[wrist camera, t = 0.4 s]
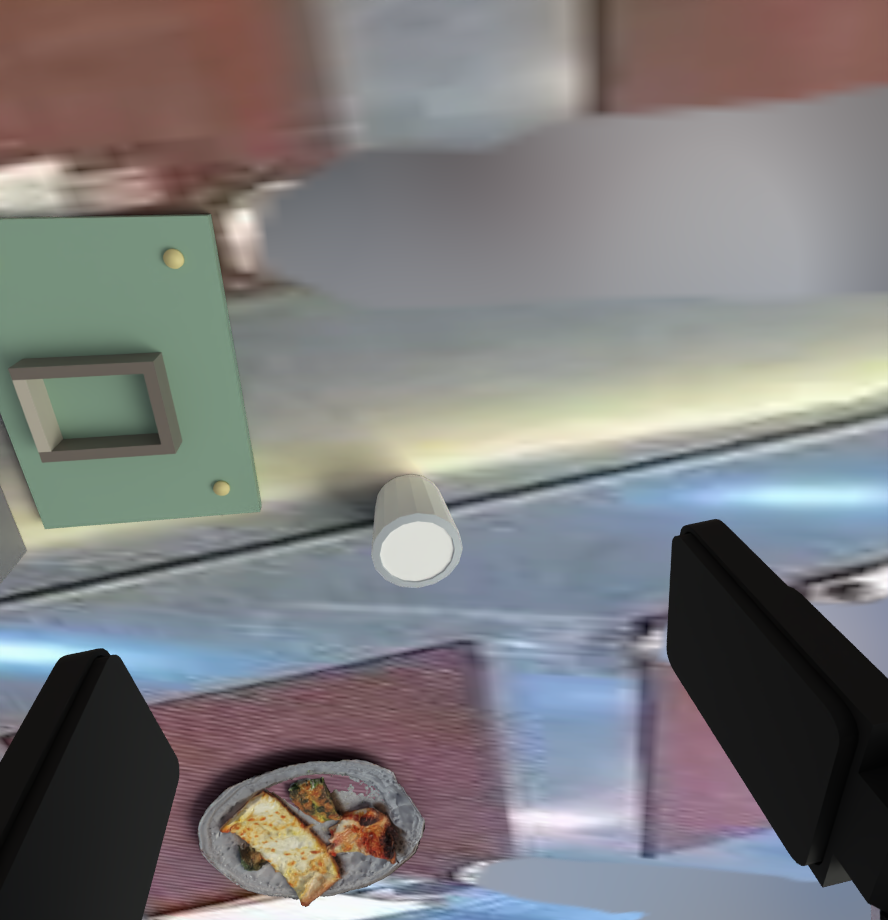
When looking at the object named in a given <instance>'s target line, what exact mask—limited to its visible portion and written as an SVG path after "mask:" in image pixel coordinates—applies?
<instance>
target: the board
mask: <svg viewBox="0 0 888 920" xmlns="http://www.w3.org/2000/svg"><path fill="white" fill-rule="evenodd" d="M156 352H162V356H163V360H164V364H165V369H166V373H167V377H168V382H169V386H170V390H171V394H172V399H173V403H174V407H175V411H176V416H177V420H178V424H179V429H180V433H181V437H182V441H183V442H182V443H181V445H180V447H179V449H178V451H177V452H176V454H166V455H151V456H136V457H121V458H106V459H91V460H76V461H61V462H46V463H42V461H41V458H40V455H39V453H38V450H37V447H36V444H35V442H34V439H33V436H32V433H31V431H30V428H29V425H28V422H27V420H26V417H25V414H24V411H23V409H22V406H21V403H20V400H19V398H18V395H17V392H16V389H15V387H14V384H13V381H12V378H11V376H10V373H9V370H8V368H9V367H11V366H13V365H14V364H16V363H17V362H19V361H20V360H22V359H27V358H48V357H70V356H91V355H113V354H135V353H156ZM43 381H44V384H45V387H46V390H47V393H48V396H49V399H50V402H51V405H52V408H53V410H54V413H55V416H56V419H57V422H58V425H59V428H60V431H61V434H62V437H63V439H72V438H88V437H104V436H120V435H136V434H151V433H158V429H157V425H156V421H155V417H154V413H153V410H152V406H151V402H150V398H149V394H148V390H147V386H146V382H145V378H144V374H130V375H110V376H90V377H71V378H51V379H43ZM0 413H1V416H2V418H3V421H4V424H5V426H6V429H7V431H8V434H9V437H10V439H11V442H12V444H13V447H14V450H15V452H16V455H17V457H18V460H19V463H20V465H21V468H22V470H23V473H24V476H25V478H26V481H27V483H28V486H29V489H30V491H31V494H32V496H33V499H34V502H35V504H36V507H37V509H38V512H39V515H40V517H41V520H42V522H43V525H44V528H45V529H52V528H64V527H76V526H89V525H101V524H114V523H126V522H139V521H151V520H164V519H176V518H189V517H201V516H213V515H226V514H238V513H251V512H260V510H261V499H260V493H259V488H258V482H257V476H256V470H255V465H254V459H253V453H252V447H251V442H250V436H249V430H248V425H247V419H246V413H245V407H244V402H243V396H242V390H241V384H240V379H239V373H238V367H237V362H236V356H235V350H234V344H233V339H232V333H231V327H230V321H229V316H228V310H227V304H226V298H225V293H224V287H223V281H222V276H221V270H220V264H219V258H218V253H217V247H216V241H215V235H214V230H213V224H212V218H211V214H185V215H131V216H77V217H23V218H0Z"/></svg>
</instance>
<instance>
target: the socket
mask: <svg viewBox="0 0 888 920" xmlns="http://www.w3.org/2000/svg"><path fill="white" fill-rule="evenodd" d="M8 370H9V373H10V376H11V378H12V381H13V384H14V387H15V389H16V392H17V395H18V398H19V400H20V403H21V406H22V409H23V411H24V414H25V417H26V420H27V422H28V425H29V428H30V431H31V433H32V436H33V439H34V442H35V444H36V447H37V450H38V453H39V455H40V458H41V461H42V463H46V462H61V461H76V460H91V459H106V458H121V457H136V456H151V455H166V454H176V452H177V451H178V449H179V447H180V445H181V443H182V442H183V441H182V437H181V433H180V429H179V424H178V420H177V416H176V411H175V407H174V403H173V399H172V394H171V390H170V386H169V382H168V377H167V373H166V369H165V364H164V360H163V356H162V352H156V353H135V354H113V355H91V356H70V357H48V358H27V359H22V360H20V361H19V362H17V363H16V364H14V365H13V366H11V367H9V368H8ZM130 374H144V378H145V382H146V386H147V390H148V394H149V398H150V402H151V406H152V410H153V413H154V417H155V421H156V425H157V429H158V433H151V434H136V435H120V436H104V437H88V438H72V439H63V437H62V434H61V431H60V428H59V425H58V422H57V419H56V416H55V413H54V410H53V408H52V405H51V402H50V399H49V396H48V393H47V390H46V387H45V384H44V381H43V379H51V378H71V377H90V376H110V375H130Z"/></svg>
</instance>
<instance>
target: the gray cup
mask: <svg viewBox="0 0 888 920" xmlns="http://www.w3.org/2000/svg"><path fill="white" fill-rule="evenodd" d="M462 549H463V548H462V543H461V538H460V534H459V532H458V529H457V527H456V525H455V523H454V521H453V519H452V517H451V514H450V512H449V510H448V508H447V506H446V504H445V502H444V499H443V497H442V495H441V493H440V491H439V490H438V488H437V487H436V486H435V484H434V483H433V482H432V481H430V480H428V479H426V478H424V477H423V476H418V475H409V474H408V475H404V476H399V477H395V478H394V479H392V480H391V481H389V482H388V483H386V484H385V485H384V486H383V487H382V489H381V490H380V492H379V493H378V495H377V500H376V505H375V517H374V528H373V540H372V552H371V556H372V560H373V563H374V566H375V569H376V570H377V571H378V572H379V573H380V575H381V576H382V577H383V578H384V579H385V580H387V581H389V582H391V583H393V584H396V585H398V586H400V587H413V588H419V587H423V586H427V585H432V584H435V583H437V582H438V581H440V580H442V579H443V578H445V577H447V576H448V575H449V574H450V573H451V572H452V571H453V569H454V568H455V567H456V566H457V564H458V563H459V560H460V556H461V553H462Z"/></svg>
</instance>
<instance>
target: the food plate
mask: <svg viewBox="0 0 888 920" xmlns="http://www.w3.org/2000/svg"><path fill="white" fill-rule="evenodd" d="M312 774H334V775H335V774H337V775H342V776H344V775H347V776H350V777H349V778H350V779H353V781H356V782H359V780H362V781H364V783H365V784H367V785H368V786H366V787H365V789H367V790H368V787H369V788H371V793H370V794H368V796H366V797H364V796H363V795H364V794H363V793H360V794H359V795H357V796H356V793H354V792H353V791H352V790H353V789H354V787H353V786H352V785H351V784H350V785H349V786H350V787H349V788H347V789H348V790H349V789H350V788H352V789H351V790H349V791H348V792H345V791H341V792H338V791H337V790H334V791H333V792H332V793H330V791H329V789H328V788H327V786H326V784H325V782H324V778H323V777H321V778H320V779H309V778H306V779H301V780H298V781H297V782H296V783H292V784H291V785H290V788H289V789H288V791H289V793H290V796H289V797H290V799H291V801H292V803H294V804H295V806H298V808H299V809H300V810H299V811H298V808H295V807H294V806H293V805H291V804H289V803H288V802H286V800H285V799H281V797H279V796H278V795H276V794H275V793H274V792H272V793H271V792H269V791H268V790H266V789H265V788H270V787H271V786H273V785H276V784H278V783H282V782H283V781H286V780H288V779H291V780H292V779H293V778H295V777H299V776H302V775H312ZM255 776H256V775H255ZM255 776H254V777H253V778H252V777H251V778H250V779H247V780H244V781H243V782H242V783H238V784H236V785H234V786H232V787H229V788H227V789H226V790H225V791H224V792H223V793H221V794H220V795H219V796H218V799H216V800H214V802H213V803H212V804H211V805H210V806H209V807H208V809H207V810H206V811H205V814H203V816H202V818H201V820H200V823H199V828H198V830H197V831H198V833H197V834H198V837H199V846H200V849H201V851H203V852H204V854H205V853H206V854H205V855H206V856H207V857H208V858H209V860H211V861H212V862H213V863H212V862H210V861H209V860H208V858H207V857H206V856H205V855H204V854H202V855H203V856H204V857H205V858H206V860H207V861H208V862H209V863H211V865H212V866H213V867H215V868H216V869H217V870H218V871H219V872H220V873H222V874H223V875H224V876H226V877H227V878H228V879H230V880H231V881H232V882H233V881H234V883H235V881H236V883H235V884H237V885H238V884H240V885H241V886H240V887H241V888H244V889H246V890H248V891H252V892H255V893H259V894H263V895H268V896H283V897H285V898H286V897H289V898H293V899H296V900H297V899H300V902H301V905H302V906H305V907H306V906H309V904H310V903H311V902H312V901H314V900H315V899H316V898H318V897H319V896H323V897H325V896H333V895H336V894H339V893H345V892H348V891H350V890H355V889H360V888H363V887H364V888H365V887H368V885H369V886H370V885H371V884H373V883H375V882H377V881H379V880H382V879H384V878H385V877H387V876H389V875H390V874H391V873H393V872H394V871H395V870H396V869H397V868H399V867H400V866H401V865H402V864H404V863H405V862H406V861H407V860H409V859H410V858H411V857H412V856H413V855H414V854H415V853H416V851H417V849H418V846H417V845H418V844H419V842H420V840H421V837H422V834H423V832H424V829H425V820H423V819H424V818H422V816H421V814H420V812H419V811H418V810H417V807H416V806H415V804H414V803H413V802H412V800H411V798H410V796H408V795H407V794H406V792H405V790H404V788H403V787H401V785H400V784H397V782H398V781H397V780H395V779H396V777H395V775H394V773H393V772H391V771H390V770H389V769H386V768H382V767H380V766H379V765H376V764H372V763H371V762H367V761H362V760H352V761H351V760H342V761H338V762H333V761H330V762H326V761H317V762H307V763H304V764H296V765H290V766H289V765H288V767H286V766H285V767H283V768H280V767H279V769H276V770H273V771H270V772H265V774H262V775H258V776H256V777H255ZM331 777H332V775H331ZM394 778H395V779H394ZM338 780H339V779H338ZM362 783H363V782H361V784H360V785H362ZM340 785H341V784H340ZM371 786H374V788H376V790H373V788H372V787H371ZM378 790H379V792H378ZM367 792H368V791H367ZM375 792H377V793H379V794H380V795H378V794H376V793H375ZM388 792H390V793H388ZM366 794H367V793H366ZM372 794H373V795H372ZM359 796H361V797H359ZM369 796H370V797H375V799H373V798H368V797H369ZM381 799H383V800H384V801H382V800H381ZM319 823H320V824H319ZM329 833H331V836H330V835H329ZM201 853H202V852H201ZM214 864H215V865H214ZM229 876H230V877H231V878H232V879H231V878H230V877H229ZM238 886H239V885H238Z"/></svg>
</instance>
